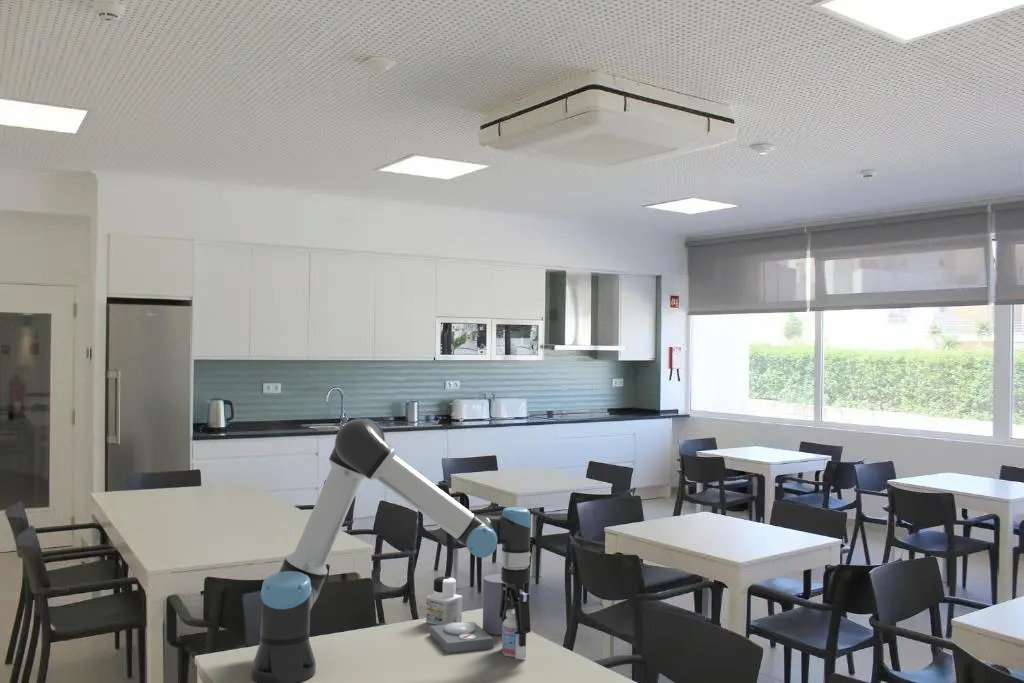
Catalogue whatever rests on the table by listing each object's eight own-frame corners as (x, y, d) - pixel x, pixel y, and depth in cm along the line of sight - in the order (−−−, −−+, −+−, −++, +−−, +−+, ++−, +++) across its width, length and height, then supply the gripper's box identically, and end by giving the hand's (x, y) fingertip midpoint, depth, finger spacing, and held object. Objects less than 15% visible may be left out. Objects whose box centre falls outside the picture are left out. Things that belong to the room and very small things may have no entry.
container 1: (425, 622, 251) (426, 578, 252) (442, 616, 258) (443, 573, 258) (445, 627, 247) (446, 582, 247) (462, 621, 253) (463, 577, 254)
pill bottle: (498, 655, 223) (499, 612, 224) (507, 648, 229) (508, 606, 230) (520, 659, 221) (521, 615, 222) (528, 652, 227) (529, 609, 227)
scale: (447, 653, 225) (447, 639, 225) (430, 635, 239) (430, 622, 240) (493, 648, 229) (493, 634, 230) (473, 630, 244) (473, 618, 244)
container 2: (490, 623, 252) (492, 572, 252) (523, 628, 248) (524, 576, 249) (476, 633, 242) (478, 580, 243) (510, 638, 239) (511, 584, 239)
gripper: (544, 574, 217) (543, 663, 217) (513, 557, 237) (511, 638, 237) (517, 576, 215) (516, 667, 214) (488, 558, 235) (486, 641, 234)
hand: (513, 652), depth 225 cm, fingers open, 9 cm apart
